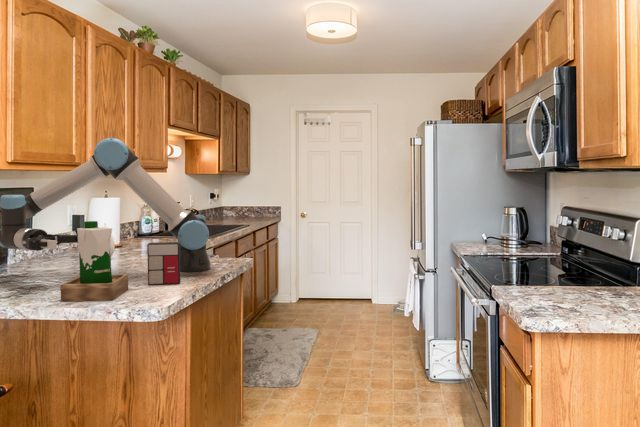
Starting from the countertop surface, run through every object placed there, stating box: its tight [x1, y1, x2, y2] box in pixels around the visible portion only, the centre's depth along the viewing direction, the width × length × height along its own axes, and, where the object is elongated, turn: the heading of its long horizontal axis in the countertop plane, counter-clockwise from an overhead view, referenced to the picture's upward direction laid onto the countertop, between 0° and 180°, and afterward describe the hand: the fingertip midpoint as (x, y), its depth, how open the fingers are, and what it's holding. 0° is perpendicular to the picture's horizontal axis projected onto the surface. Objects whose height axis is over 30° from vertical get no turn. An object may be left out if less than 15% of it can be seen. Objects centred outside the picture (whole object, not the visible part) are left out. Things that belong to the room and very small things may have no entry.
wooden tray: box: [60, 274, 129, 302], centre depth 151 cm, size 16×16×5 cm
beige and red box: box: [146, 241, 181, 286], centre depth 169 cm, size 11×4×15 cm, turn 101°
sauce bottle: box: [104, 223, 116, 258], centre depth 224 cm, size 8×8×18 cm
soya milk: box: [76, 220, 113, 284], centre depth 151 cm, size 9×9×20 cm
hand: (74, 242), depth 154 cm, fingers open, 13 cm apart
